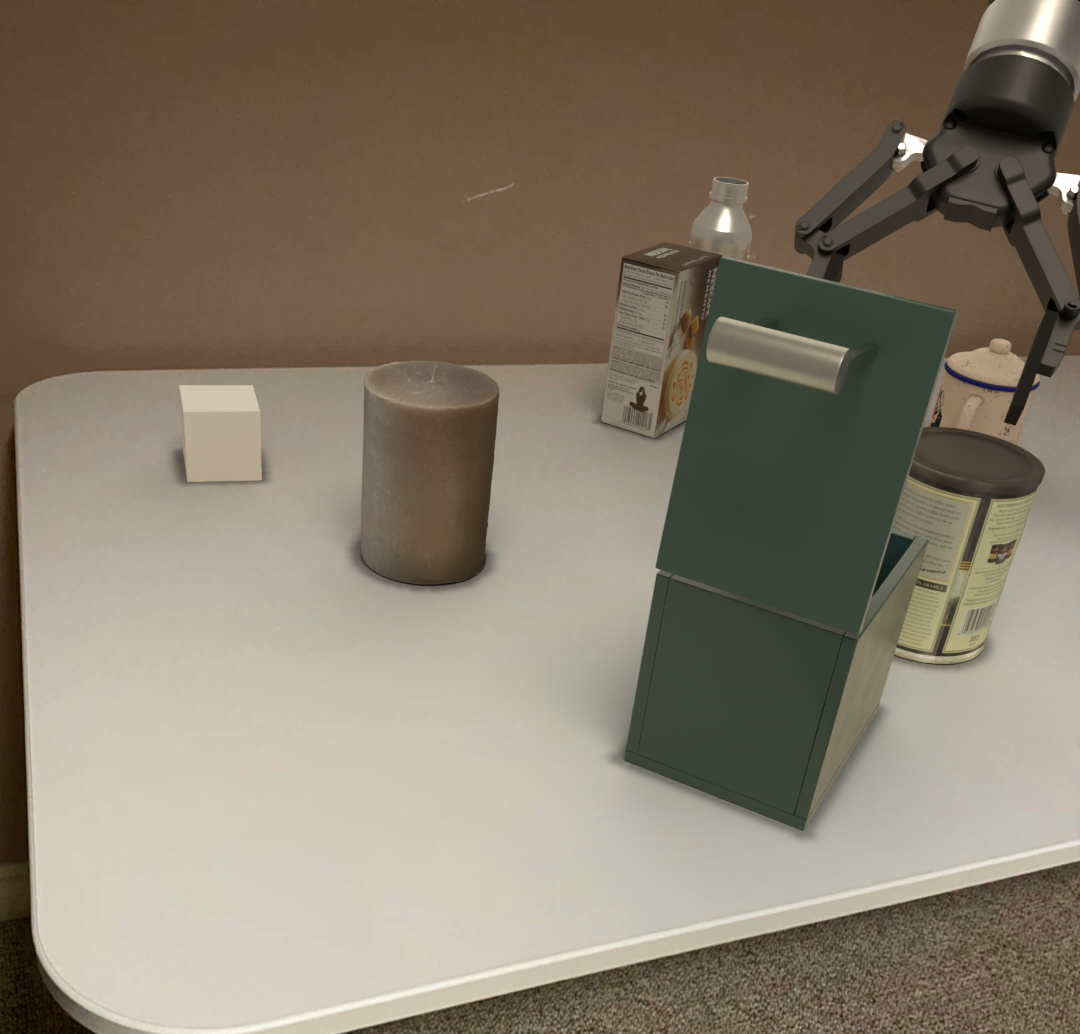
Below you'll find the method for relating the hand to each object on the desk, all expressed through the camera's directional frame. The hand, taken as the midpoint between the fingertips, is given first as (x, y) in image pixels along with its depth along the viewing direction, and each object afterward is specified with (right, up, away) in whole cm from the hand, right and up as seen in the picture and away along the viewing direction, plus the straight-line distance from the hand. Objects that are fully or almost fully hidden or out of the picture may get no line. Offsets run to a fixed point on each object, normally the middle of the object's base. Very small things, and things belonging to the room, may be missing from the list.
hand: (905, 385), depth 79 cm
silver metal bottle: (-5, +18, +61) cm, 64 cm away
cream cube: (-50, 0, +27) cm, 57 cm away
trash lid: (-10, -7, -16) cm, 20 cm away
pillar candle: (-32, -9, +17) cm, 37 cm away
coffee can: (+5, -14, +16) cm, 22 cm away
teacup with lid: (+19, +5, +47) cm, 51 cm away
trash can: (-9, -22, +1) cm, 24 cm away
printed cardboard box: (-12, +9, +47) cm, 49 cm away
